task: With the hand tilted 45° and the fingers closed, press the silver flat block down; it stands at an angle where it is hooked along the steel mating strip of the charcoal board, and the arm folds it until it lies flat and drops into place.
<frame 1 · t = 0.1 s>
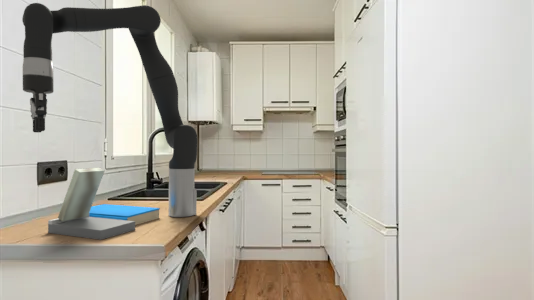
hand: (38, 131, 103), 29 cm above the countertop, tool pointing down, fingers open, 8 cm apart
silver flat block: (81, 193, 107), point 11 cm above the countertop, hinge at 65.0°
book: (114, 221, 122), on the countertop
board: (92, 231, 105), on the countertop
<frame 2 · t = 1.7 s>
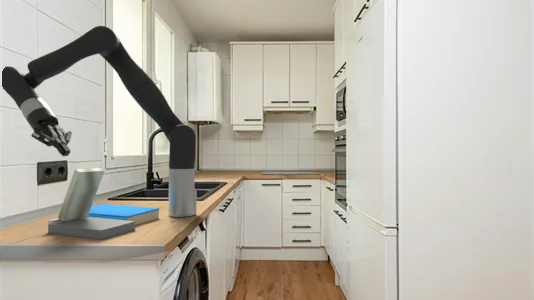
hand: (66, 154, 109), 23 cm above the countertop, tool tilted 45°, fingers closed
nothing on the countertop moved.
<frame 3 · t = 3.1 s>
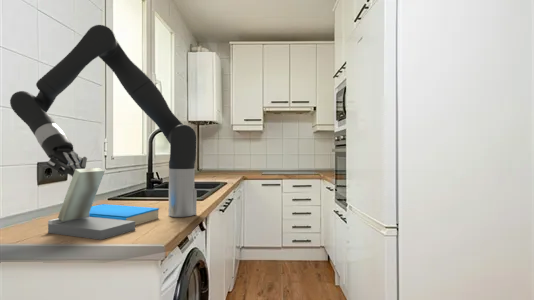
hand: (82, 182, 107), 14 cm above the countertop, tool tilted 45°, fingers closed
silver flat block: (81, 193, 107), point 11 cm above the countertop, hinge at 64.6°, touching gripper
everything else where it was.
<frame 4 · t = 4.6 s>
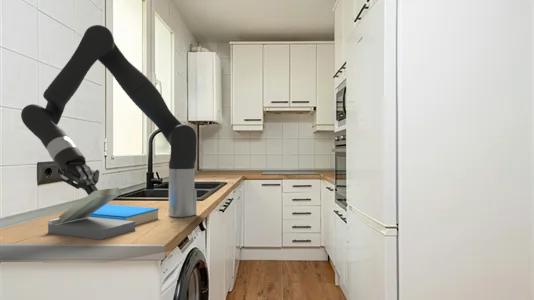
hand: (96, 196, 105), 10 cm above the countertop, tool tilted 45°, fingers closed
silver flat block: (90, 204, 106), point 8 cm above the countertop, hinge at 30.9°, touching gripper
everything else where it was.
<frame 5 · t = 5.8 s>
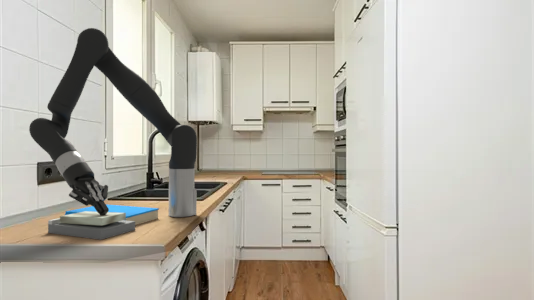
hand: (105, 213, 103), 6 cm above the countertop, tool tilted 45°, fingers closed
silver flat block: (93, 217, 105), point 4 cm above the countertop, hinge at 2.4°, touching gripper
everything else where it was.
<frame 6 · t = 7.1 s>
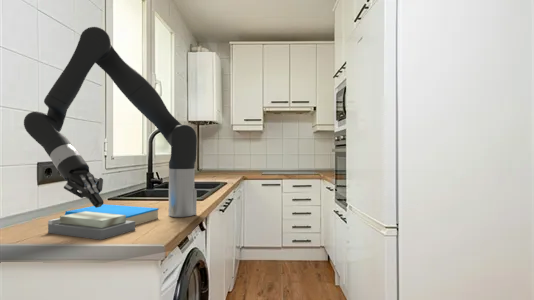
hand: (100, 205, 104), 8 cm above the countertop, tool tilted 45°, fingers closed
silver flat block: (93, 219, 105), point 4 cm above the countertop, hinge at 0.0°
everything else where it was.
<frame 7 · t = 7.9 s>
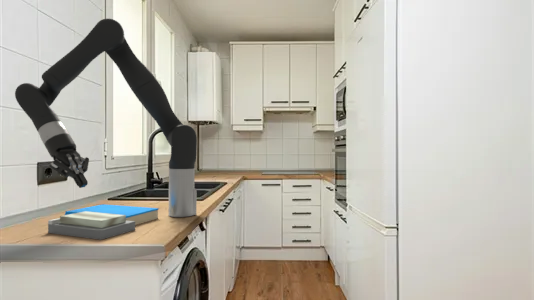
hand: (83, 186, 107), 13 cm above the countertop, tool tilted 35°, fingers closed
nothing on the countertop moved.
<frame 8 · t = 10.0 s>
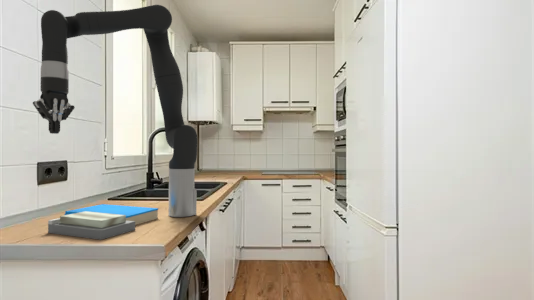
hand: (54, 133, 111), 29 cm above the countertop, tool pointing down, fingers closed
nothing on the countertop moved.
at the end: silver flat block at +0° (first picture: +65°); book moved 1.0 cm from its start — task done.
